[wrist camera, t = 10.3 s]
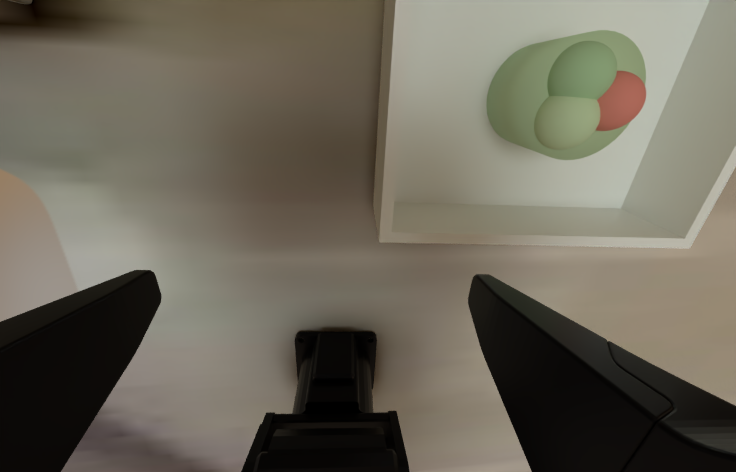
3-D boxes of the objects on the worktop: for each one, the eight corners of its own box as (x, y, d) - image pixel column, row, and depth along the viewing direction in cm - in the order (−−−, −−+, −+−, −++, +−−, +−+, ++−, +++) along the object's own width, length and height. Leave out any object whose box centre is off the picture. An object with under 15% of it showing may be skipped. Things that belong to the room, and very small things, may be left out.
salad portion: (562, 145, 19) (641, 169, 14) (478, 142, 19) (526, 165, 13) (593, 45, 17) (702, 29, 12) (498, 39, 16) (566, 19, 11)
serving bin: (619, 213, 22) (689, 248, 17) (373, 207, 21) (379, 242, 16) (731, -51, 16) (888, -106, 11) (389, -80, 15) (406, -154, 10)
